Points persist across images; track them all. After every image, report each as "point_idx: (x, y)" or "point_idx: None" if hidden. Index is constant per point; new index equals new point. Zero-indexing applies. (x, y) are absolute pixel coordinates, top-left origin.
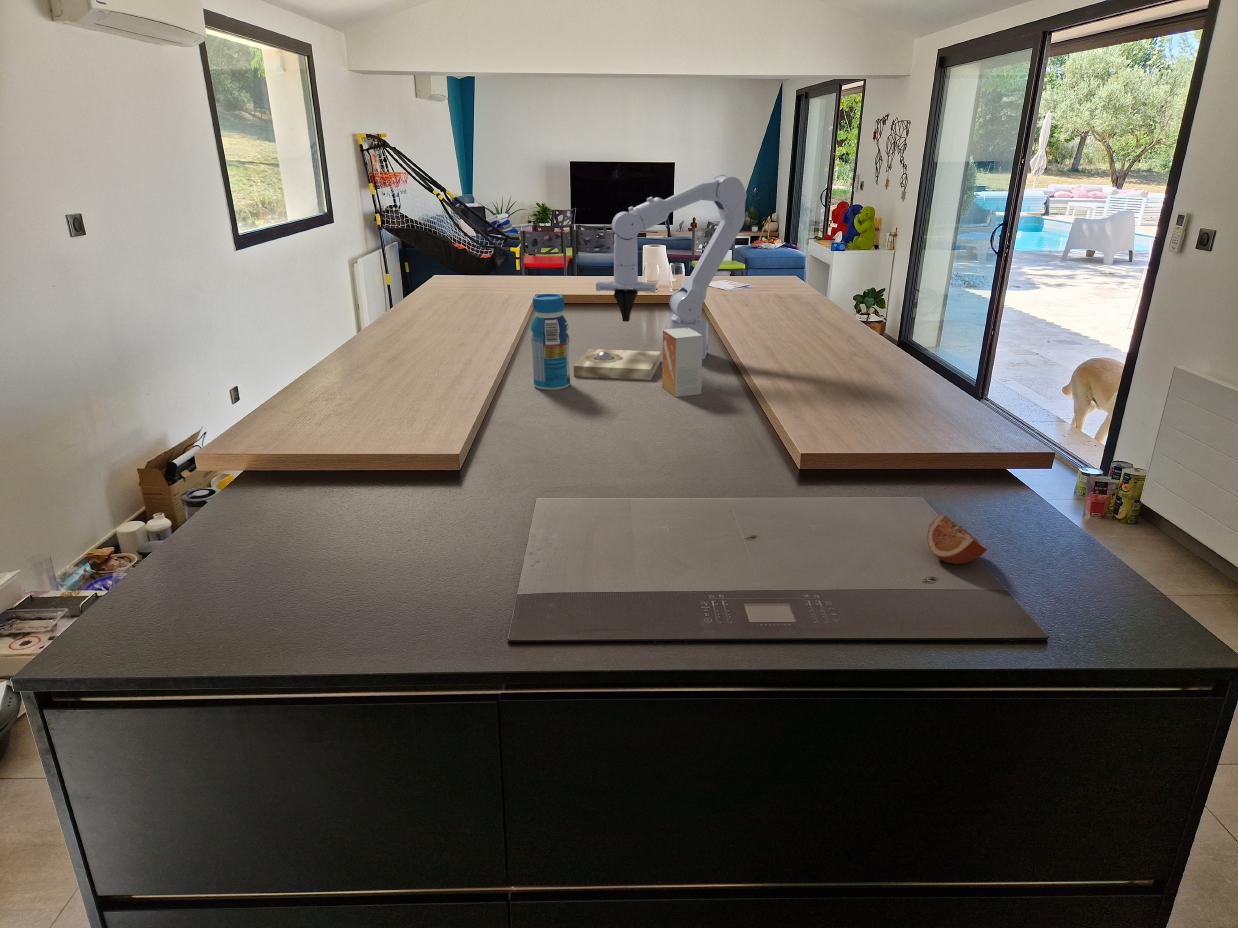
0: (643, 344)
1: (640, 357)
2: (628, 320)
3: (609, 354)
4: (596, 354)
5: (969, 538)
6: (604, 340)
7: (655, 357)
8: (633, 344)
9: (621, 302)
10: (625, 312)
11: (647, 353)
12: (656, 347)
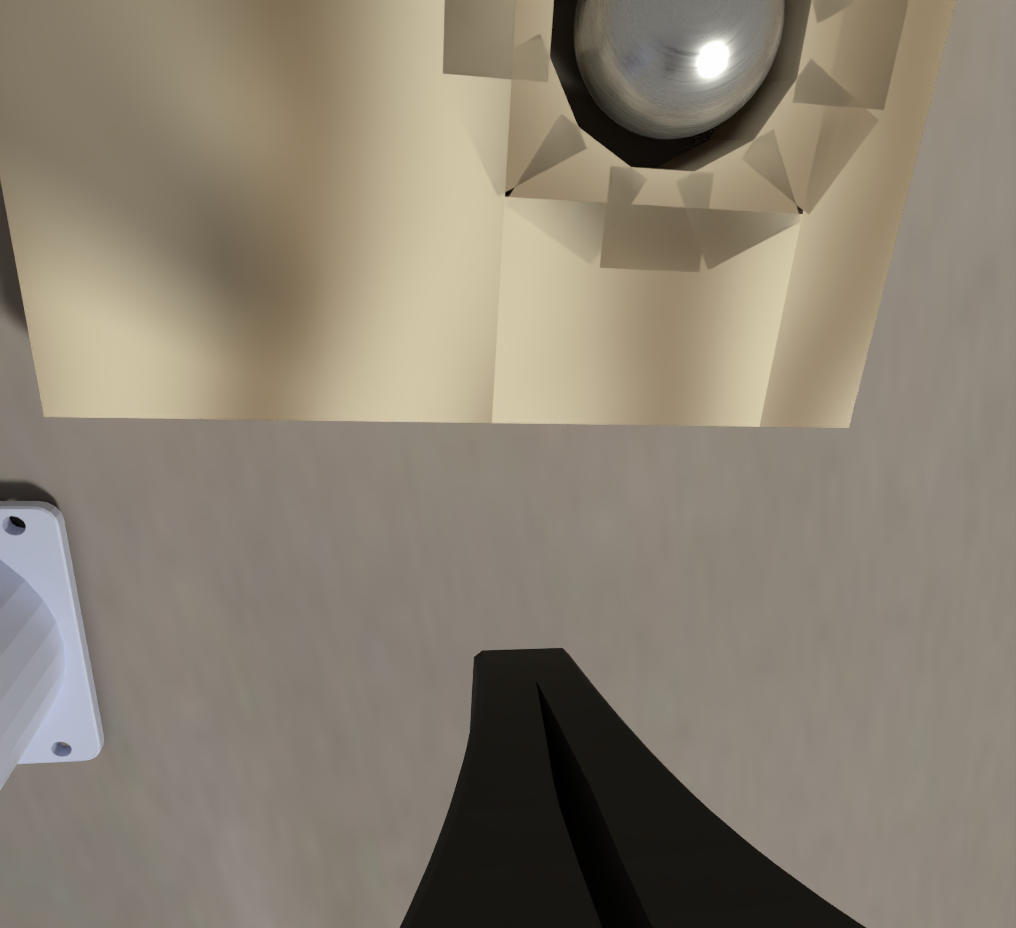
0: (392, 859)
1: (221, 98)
2: (474, 680)
3: (628, 10)
4: (776, 195)
5: None
6: None
7: (14, 114)
8: None
9: (710, 910)
10: (546, 744)
11: (184, 313)
12: (267, 808)
